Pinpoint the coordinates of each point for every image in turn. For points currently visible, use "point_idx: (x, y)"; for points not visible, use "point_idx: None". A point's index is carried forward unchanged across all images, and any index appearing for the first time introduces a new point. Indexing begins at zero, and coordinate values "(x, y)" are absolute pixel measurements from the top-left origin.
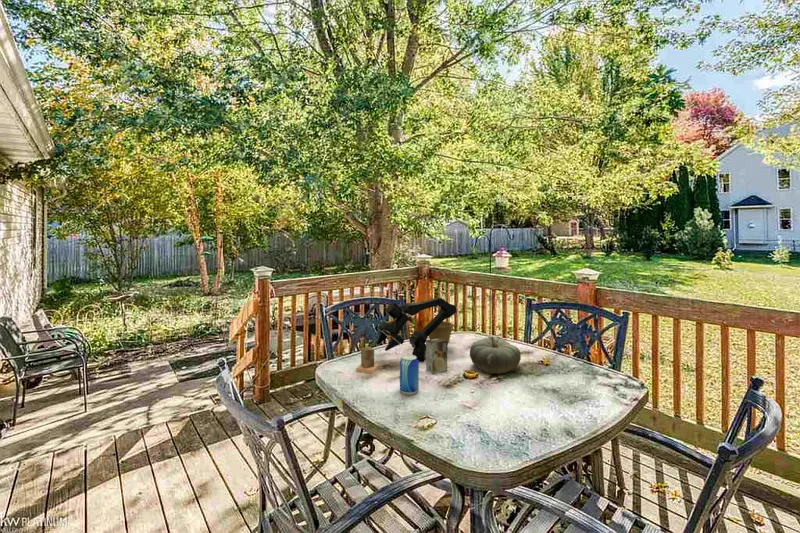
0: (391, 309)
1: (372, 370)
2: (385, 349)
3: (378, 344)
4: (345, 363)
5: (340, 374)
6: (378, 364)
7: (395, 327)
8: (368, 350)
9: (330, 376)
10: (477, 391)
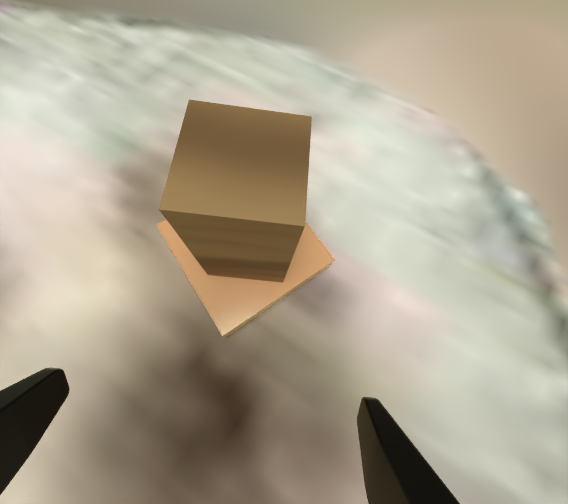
0: None
1: (157, 225)
2: (33, 374)
3: (360, 440)
4: (424, 205)
5: (281, 110)
6: (222, 327)
7: None
8: (180, 136)
9: (287, 72)
10: None
